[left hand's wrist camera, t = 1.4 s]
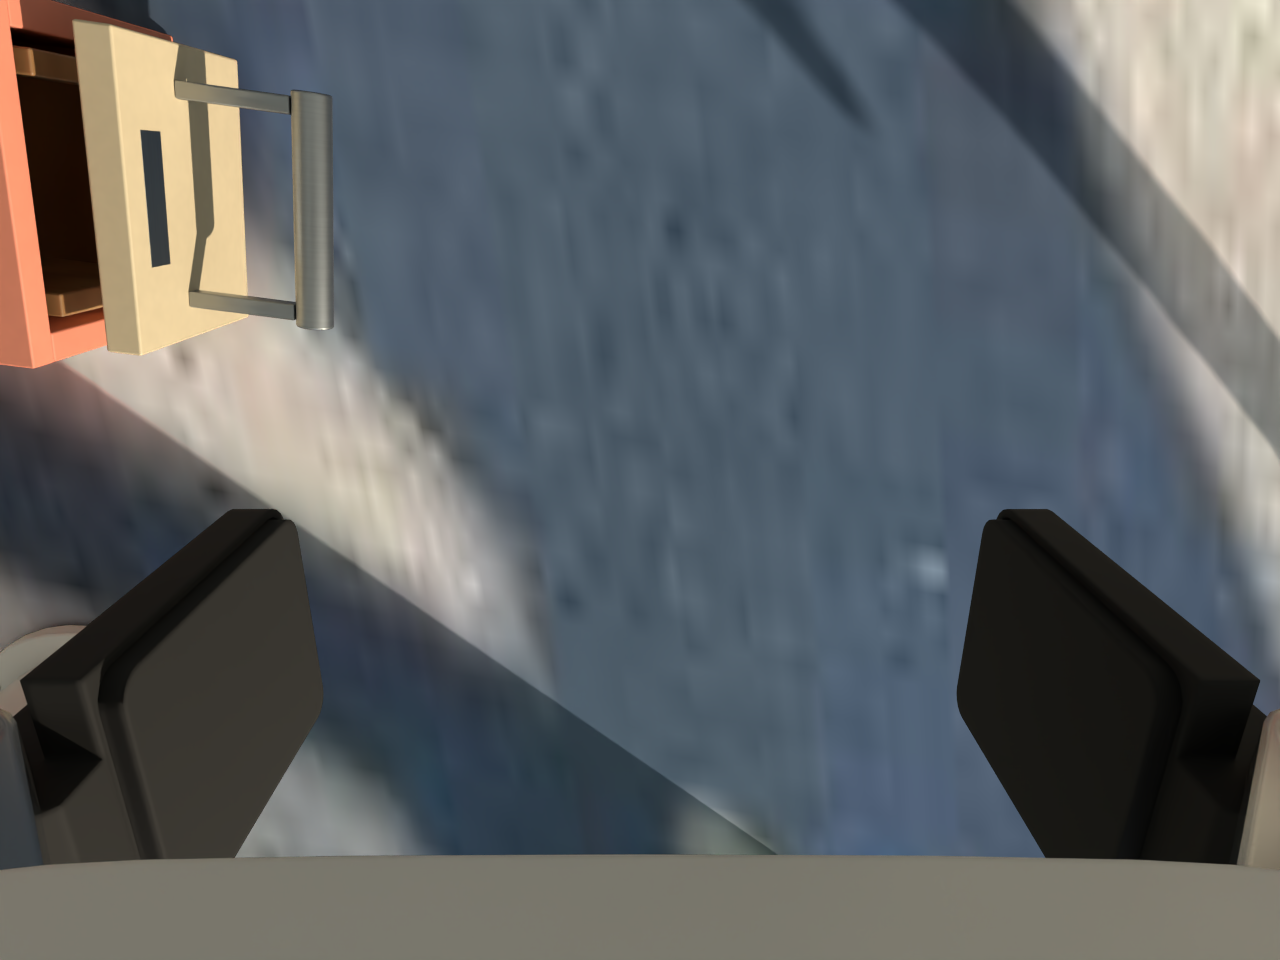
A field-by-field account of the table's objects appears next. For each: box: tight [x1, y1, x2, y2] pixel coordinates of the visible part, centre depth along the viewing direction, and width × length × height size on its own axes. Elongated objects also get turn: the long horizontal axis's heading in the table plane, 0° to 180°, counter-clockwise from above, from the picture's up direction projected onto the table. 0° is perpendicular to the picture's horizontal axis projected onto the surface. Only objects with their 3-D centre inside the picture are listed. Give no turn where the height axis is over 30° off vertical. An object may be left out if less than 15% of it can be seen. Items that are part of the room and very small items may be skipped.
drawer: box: [12, 19, 334, 356], centre depth 29 cm, size 24×10×8 cm, turn 83°
